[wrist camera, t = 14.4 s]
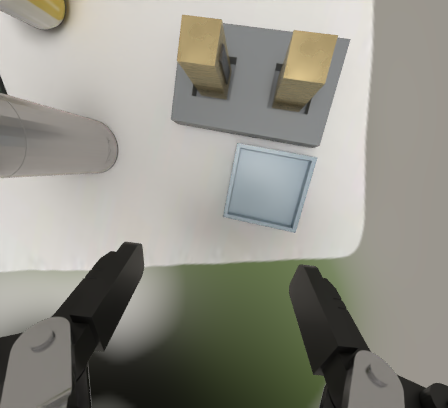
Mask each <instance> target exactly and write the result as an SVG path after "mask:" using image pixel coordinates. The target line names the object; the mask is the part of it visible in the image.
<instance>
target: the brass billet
mask: <svg viewBox="0 0 448 408" xmlns="http://www.w3.org/2000/svg"><path fill="white" fill-rule="evenodd" d="M337 38H338V35H330V34H322V33H313V32H305V31H296V30H294V31H293V34H292V37H291V40H290V43H289V46H288V49H287V52H286V56H285V59H284V62H283V65H282V68H281V71H280V74H279V77H278V81H277V85H276V90H275V94H274V99H273V104H272V108H275V109H281V110H288V111H294V112H299V111H300V110H301V109H302V108H303V107H304V106H305V105H306V104H307V103H308V102H309V101H310V99H311V98H312V97H313V96H314V95H315V94H316V93H317V92H318V91H319V90H320V89H321V88H322V87H323V85H324V84H325V82H326V78H327V75H328V71H329V67H330V64H331V60H332V56H333V52H334V49H335V45H336V41H337Z"/></svg>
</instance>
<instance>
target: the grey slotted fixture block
mask: <svg viewBox="0 0 448 408" xmlns="http://www.w3.org/2000/svg"><path fill="white" fill-rule="evenodd" d="M223 28H224V33H225V38H226V44H227V49H228V54H229V59H230V65H231V70H232V71H231V77H230V82H229V88H228V94H227V100H226V99H219V98H213V97H207V96H201V94H200V93H199V92H198V90H197V89H196V87H195V86H194V84H193V83H192V82H191V80H190V79H189V77H188V76H187V74H186V73H185V72H184V70H183V69H182V67H181V66H180V64H179V63H178V62H177V71H176V80H175V88H174V97H173V106H172V114H171V120H173V121H174V122H176V123H178V124H183V125H188V126H194V127H199V128H205V129H210V130H216V131H222V132H227V133H233V134H238V135H244V136H249V137H255V138H261V139H266V140H272V141H277V142H283V143H289V144H294V145H300V146H305V147H311V148H313V147H317V146H319V145H320V142H321V139H322V135H323V132H324V128H325V125H326V121H327V118H328V114H329V111H330V108H331V104H332V101H333V97H334V94H335V90H336V87H337V83H338V80H339V77H340V73H341V70H342V66H343V63H344V59H345V56H346V53H347V49H348V46H349V42H350V39H344V38H337V41H336V45H335V49H334V52H333V56H332V60H331V64H330V67H329V71H328V75H327V78H326V82H325V84H324V85H323V87H322V88H321V89H320V90H319V91H318V92H317V93H316V94H315V95H314V96H313V97H312V98H311V99H310V101H309V102H308V103H307V104H306V105H305V106H304V107H303V108H302V109H301V110H300V111H299V112H294V111H288V110H281V109H275V108H272V104H273V99H274V94H275V90H276V85H277V81H278V77H279V74H280V71H281V68H282V65H283V62H284V59H285V56H286V52H287V49H288V46H289V43H290V40H291V37H292V34H293V32H289V31H281V30H273V29H265V28H257V27H249V26H241V25H233V24H225V23H223Z"/></svg>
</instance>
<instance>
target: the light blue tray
mask: <svg viewBox="0 0 448 408" xmlns="http://www.w3.org/2000/svg"><path fill="white" fill-rule="evenodd" d="M316 161H317V157H311V156H306V155H300V154H295V153H289V152H284V151H278V150H273V149H268V148H262V147H257V146H251V145H246V144H240V143H237V148H236V153H235V158H234V163H233V169H232V174H231V179H230V184H229V189H228V194H227V199H226V204H225V210H224V215H223V217H226V218H231V219H235V220H240V221H244V222H249V223H253V224H258V225H262V226H267V227H271V228H276V229H280V230H285V231H290V232H294V233H295V232H296V229H297V226H298V222H299V219H300V215H301V212H302V208H303V205H304V202H305V198H306V195H307V191H308V188H309V185H310V181H311V178H312V174H313V171H314V167H315V164H316Z"/></svg>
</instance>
